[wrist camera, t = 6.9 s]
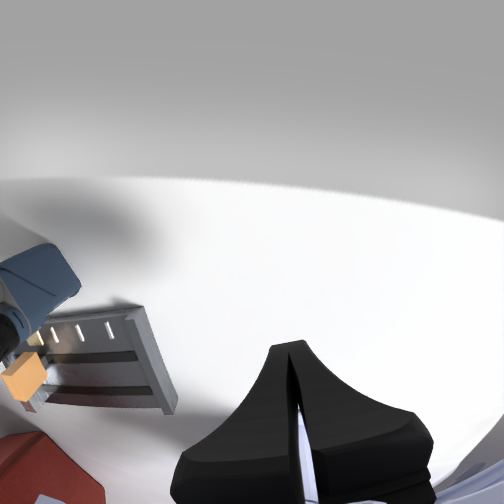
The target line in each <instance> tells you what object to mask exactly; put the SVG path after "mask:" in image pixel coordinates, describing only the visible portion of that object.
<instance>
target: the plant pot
mask: <svg viewBox="0 0 504 504" xmlns="http://www.w3.org/2000/svg"><path fill="white" fill-rule="evenodd" d="M39 495H45V496H48V497H50V498H53V499H56V500H59V501H62V502H64V503H65V504H106V499H105V490H104V488H103V487H102V486H101V485H100V484H98V483H97V482H96V481H95V480H94V479H92V478H91V477H90V476H89V475H88V474H87V473H85V472H84V471H83V470H82V469H81V468H80V467H79V466H78V465H76V464H75V463H74V462H73V461H72V460H71V459H70V458H69V457H68V456H67V455H66V454H65V453H64V452H63V451H62V450H61V449H60V448H58V447H57V446H56V445H55V444H54V443H53V442H52V441H51V439H50V438H49V437H48V436H47V435H45V434H44V433H42V432H40V431H37V432H30V433H23V434H15V435H7V436H5V437H3V438H1V439H0V504H35V502H36V500H37V499H38V497H39Z"/></svg>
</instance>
